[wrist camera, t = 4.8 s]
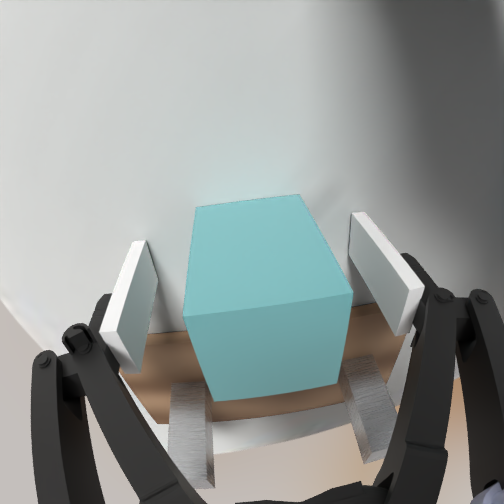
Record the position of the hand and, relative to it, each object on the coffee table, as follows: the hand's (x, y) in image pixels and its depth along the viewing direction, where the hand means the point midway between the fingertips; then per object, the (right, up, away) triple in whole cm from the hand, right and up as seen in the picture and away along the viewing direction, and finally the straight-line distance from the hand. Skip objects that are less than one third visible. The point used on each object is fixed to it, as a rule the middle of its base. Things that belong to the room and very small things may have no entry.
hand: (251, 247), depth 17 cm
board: (+1, -10, +7) cm, 12 cm away
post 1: (-5, -11, +6) cm, 13 cm away
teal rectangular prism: (0, 0, 0) cm, 0 cm away
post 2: (+8, -9, +6) cm, 14 cm away
